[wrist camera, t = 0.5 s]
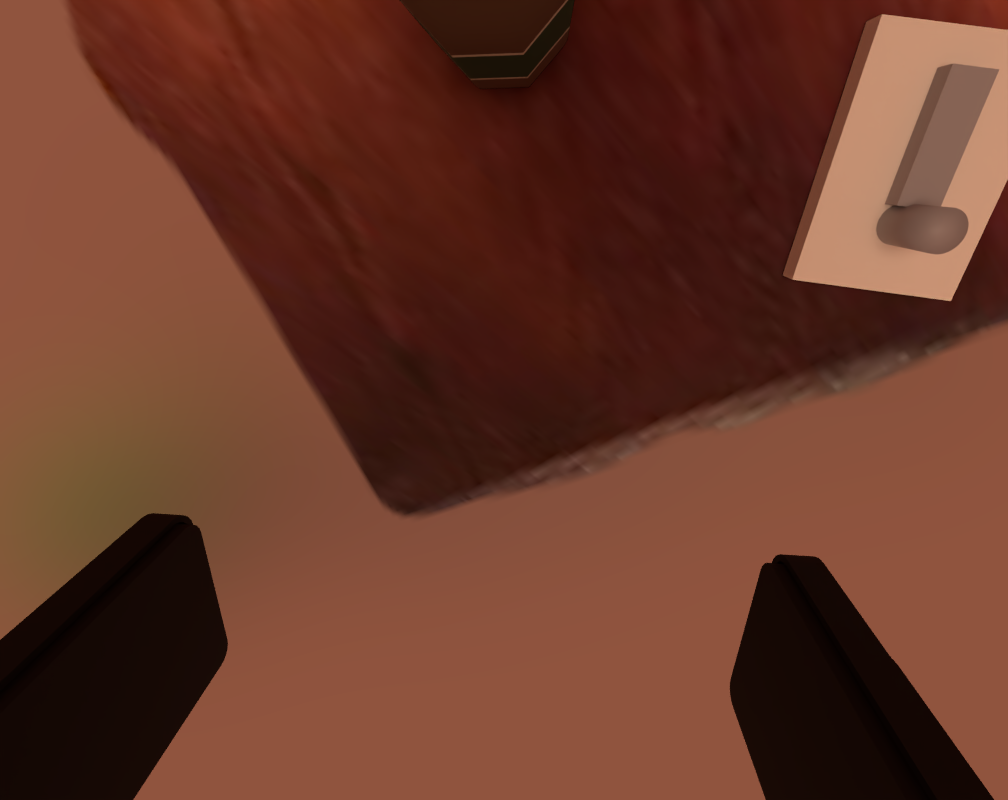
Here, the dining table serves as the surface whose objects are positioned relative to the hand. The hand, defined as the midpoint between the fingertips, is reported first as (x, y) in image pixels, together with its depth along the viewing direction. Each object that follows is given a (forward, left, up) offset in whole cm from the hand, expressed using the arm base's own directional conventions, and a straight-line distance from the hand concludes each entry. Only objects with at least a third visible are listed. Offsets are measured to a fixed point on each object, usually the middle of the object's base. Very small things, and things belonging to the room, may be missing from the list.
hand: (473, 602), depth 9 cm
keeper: (-9, +22, -30) cm, 38 cm away
